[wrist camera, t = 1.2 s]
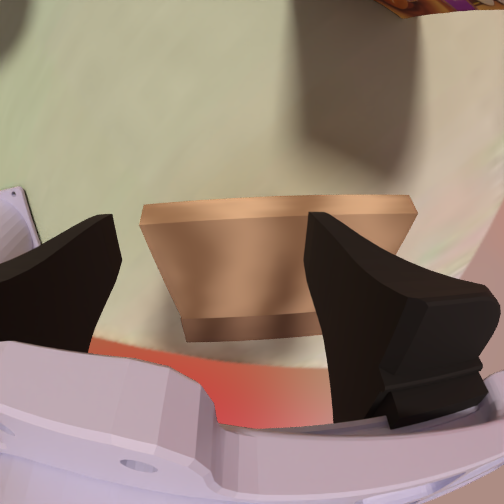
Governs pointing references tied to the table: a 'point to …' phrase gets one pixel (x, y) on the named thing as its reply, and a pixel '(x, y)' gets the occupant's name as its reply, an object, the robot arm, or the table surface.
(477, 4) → the candy box
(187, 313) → the oak click plank
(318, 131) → the table surface
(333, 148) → the table surface
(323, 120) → the table surface
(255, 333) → the laid walnut plank
